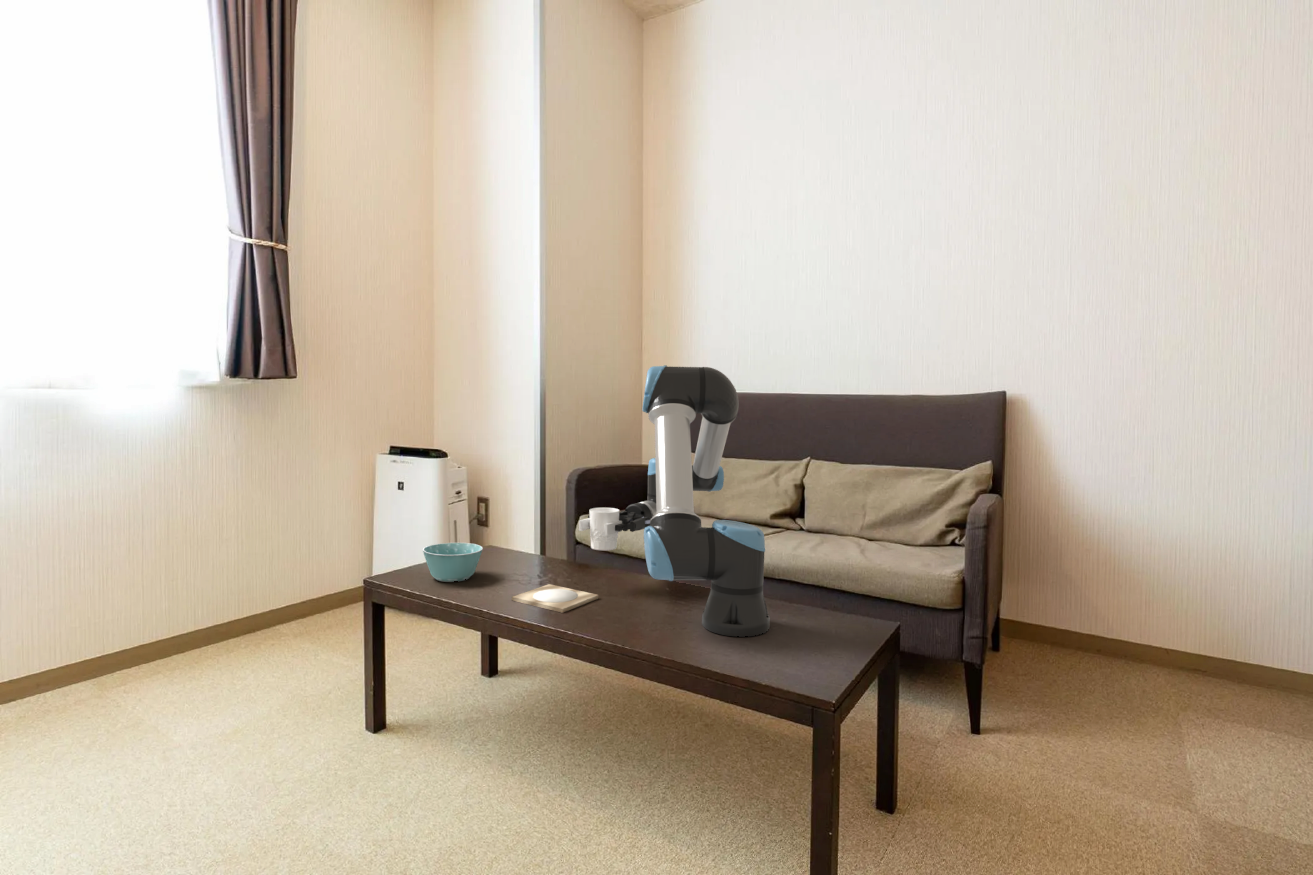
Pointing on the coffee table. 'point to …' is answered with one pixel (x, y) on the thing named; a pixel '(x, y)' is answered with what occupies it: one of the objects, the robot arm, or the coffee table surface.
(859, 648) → the coffee table surface
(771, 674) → the coffee table surface
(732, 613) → the robot arm
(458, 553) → the bowl
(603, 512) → the white cup
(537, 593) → the coaster board
